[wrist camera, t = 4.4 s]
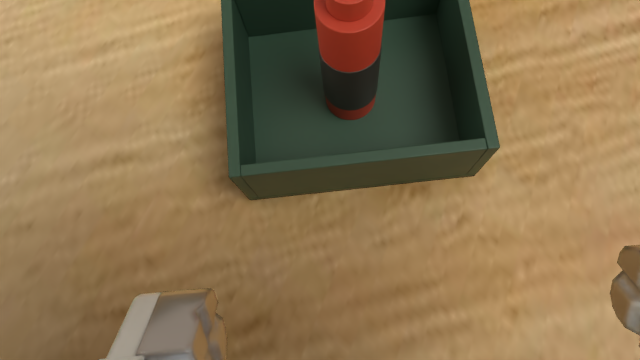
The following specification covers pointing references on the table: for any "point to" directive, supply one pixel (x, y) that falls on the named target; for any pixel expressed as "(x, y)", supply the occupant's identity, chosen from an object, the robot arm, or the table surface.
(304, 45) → the dark green open box
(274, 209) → the table surface
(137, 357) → the robot arm
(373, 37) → the red and grey bottle
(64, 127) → the table surface
